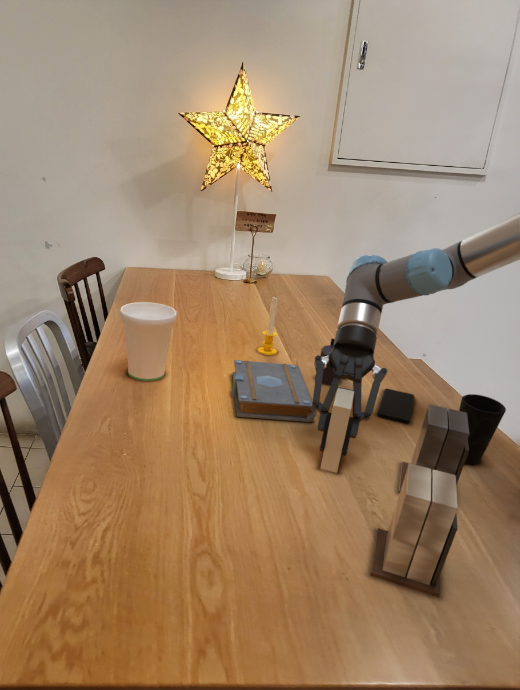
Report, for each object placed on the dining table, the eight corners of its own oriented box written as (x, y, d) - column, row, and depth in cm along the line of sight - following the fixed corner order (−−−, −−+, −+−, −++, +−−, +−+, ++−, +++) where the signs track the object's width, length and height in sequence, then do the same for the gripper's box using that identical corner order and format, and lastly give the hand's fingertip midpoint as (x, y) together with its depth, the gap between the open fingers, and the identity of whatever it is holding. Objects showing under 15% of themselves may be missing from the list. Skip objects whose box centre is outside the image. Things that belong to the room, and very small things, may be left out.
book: (314, 424, 111) (318, 402, 109) (234, 418, 110) (237, 396, 108) (298, 381, 130) (301, 362, 128) (230, 375, 129) (232, 356, 127)
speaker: (325, 370, 137) (333, 334, 131) (346, 379, 134) (355, 342, 128) (310, 381, 132) (318, 344, 126) (331, 390, 129) (340, 352, 123)
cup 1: (168, 362, 132) (172, 302, 125) (177, 385, 122) (181, 320, 115) (117, 363, 129) (117, 301, 122) (121, 385, 118) (122, 319, 111)
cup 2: (456, 469, 101) (476, 413, 96) (436, 447, 108) (453, 393, 102) (493, 468, 102) (515, 413, 97) (470, 447, 109) (489, 394, 104)
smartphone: (377, 413, 117) (385, 387, 129) (376, 416, 117) (384, 390, 130) (410, 421, 115) (414, 394, 127) (409, 424, 115) (413, 397, 128)
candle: (268, 347, 149) (276, 292, 142) (280, 354, 145) (289, 297, 138) (253, 349, 146) (261, 293, 139) (265, 356, 142) (273, 299, 135)
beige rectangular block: (341, 451, 103) (354, 390, 97) (337, 473, 96) (351, 409, 90) (325, 447, 103) (337, 386, 97) (319, 469, 96) (332, 405, 90)
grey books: (451, 478, 98) (475, 412, 92) (453, 509, 90) (479, 438, 83) (401, 464, 100) (420, 399, 94) (398, 494, 92) (419, 424, 86)
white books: (438, 550, 80) (466, 474, 74) (438, 598, 71) (470, 516, 65) (376, 532, 82) (399, 456, 76) (370, 576, 74) (394, 495, 68)
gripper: (397, 349, 103) (376, 466, 96) (312, 334, 106) (287, 446, 99) (405, 331, 96) (383, 456, 89) (314, 316, 99) (287, 435, 92)
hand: (333, 451), depth 94 cm, fingers closed on beige rectangular block, 3 cm apart
